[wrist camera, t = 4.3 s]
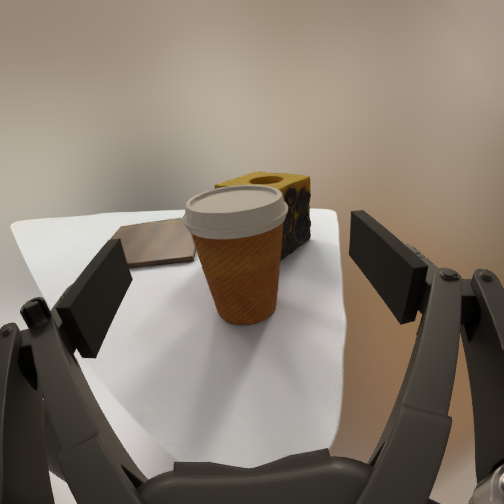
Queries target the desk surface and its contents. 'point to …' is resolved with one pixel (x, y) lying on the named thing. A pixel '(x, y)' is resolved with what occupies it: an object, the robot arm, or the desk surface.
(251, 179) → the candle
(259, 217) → the disposable coffee cup
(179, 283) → the desk surface
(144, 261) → the placemat
